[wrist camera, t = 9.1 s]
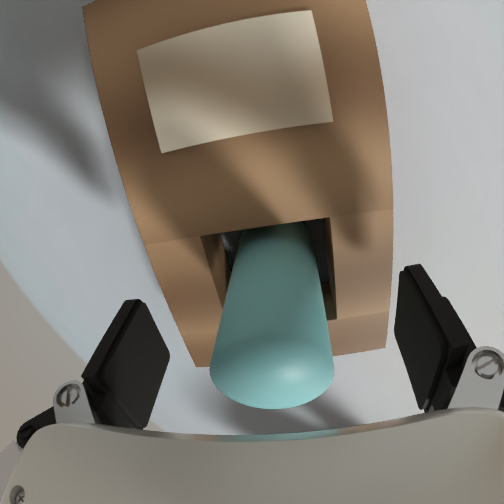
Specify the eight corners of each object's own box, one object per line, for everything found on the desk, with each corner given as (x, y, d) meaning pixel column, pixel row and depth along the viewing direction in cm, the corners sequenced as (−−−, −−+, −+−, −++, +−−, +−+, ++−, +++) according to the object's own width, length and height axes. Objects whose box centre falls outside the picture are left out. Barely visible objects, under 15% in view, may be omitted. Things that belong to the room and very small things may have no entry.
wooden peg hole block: (116, 18, 10) (79, 6, 7) (334, -32, 9) (348, -60, 6) (206, 330, 19) (195, 369, 16) (373, 310, 17) (385, 350, 14)
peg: (232, 218, 15) (193, 338, 8) (307, 207, 14) (332, 324, 7) (247, 280, 17) (226, 411, 10) (315, 272, 16) (334, 403, 9)
